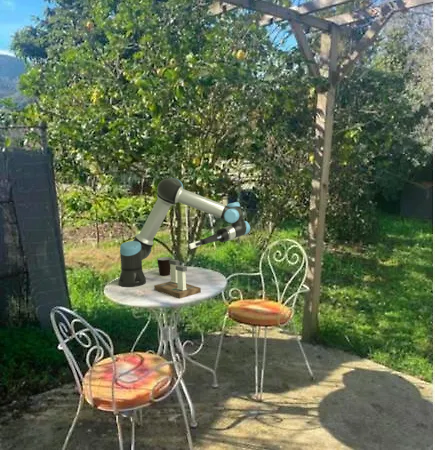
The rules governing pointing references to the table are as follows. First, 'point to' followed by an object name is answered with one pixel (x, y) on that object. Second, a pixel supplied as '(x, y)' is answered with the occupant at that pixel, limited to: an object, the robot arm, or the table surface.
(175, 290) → the wooden base board
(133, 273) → the robot arm
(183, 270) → the lever
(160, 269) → the coffee mug
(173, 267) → the lever
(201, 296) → the table surface
